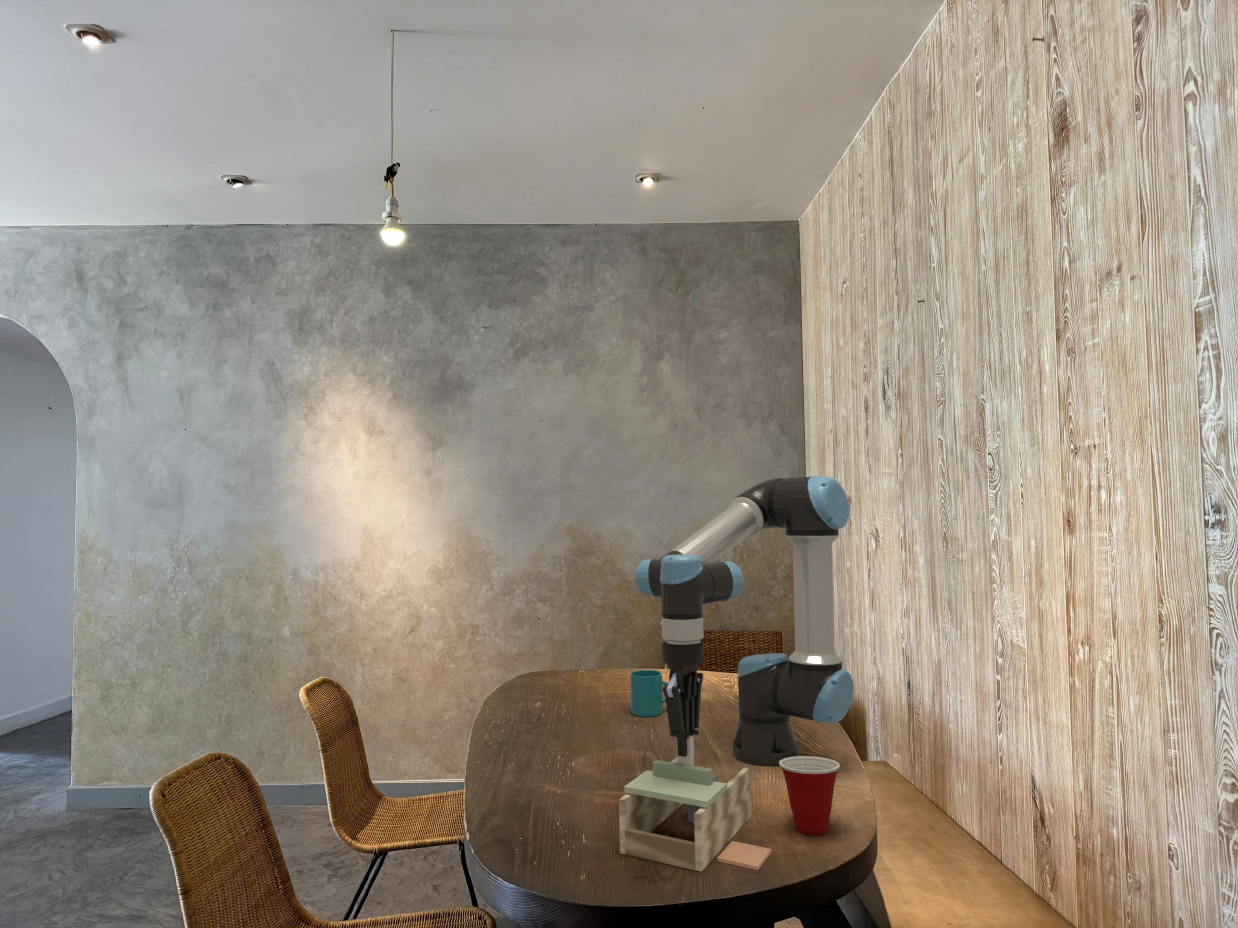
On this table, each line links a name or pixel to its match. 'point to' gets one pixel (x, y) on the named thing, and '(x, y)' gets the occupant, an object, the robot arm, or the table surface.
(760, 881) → the table surface
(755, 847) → the terracotta coaster
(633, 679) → the cup
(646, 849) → the wooden box
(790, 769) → the plastic cup
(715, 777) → the slate block
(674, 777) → the cover
